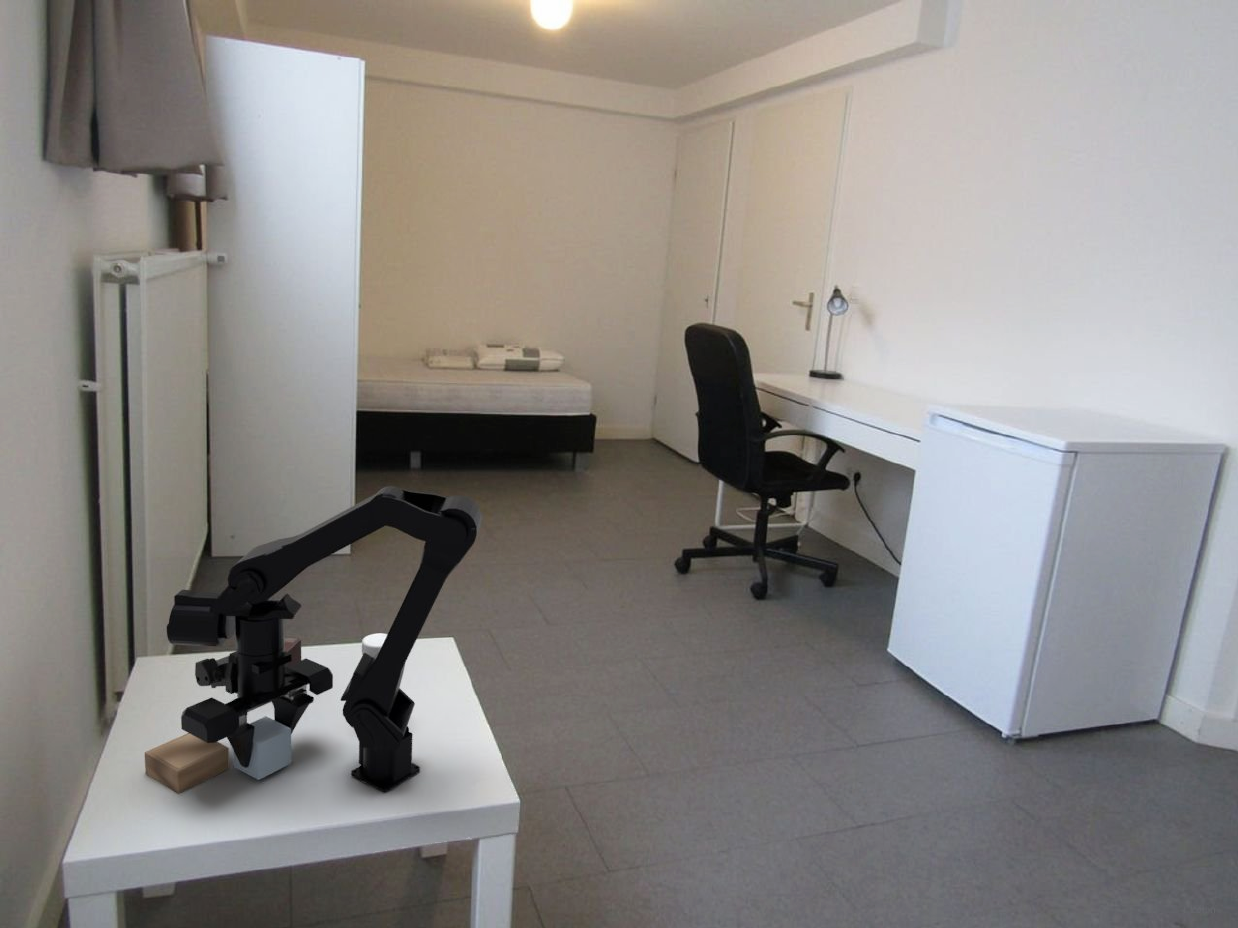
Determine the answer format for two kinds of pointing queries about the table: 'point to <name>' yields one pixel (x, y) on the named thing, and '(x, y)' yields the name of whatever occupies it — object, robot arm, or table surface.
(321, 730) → the table surface
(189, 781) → the base block
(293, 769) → the table surface
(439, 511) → the robot arm
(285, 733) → the blue cube
